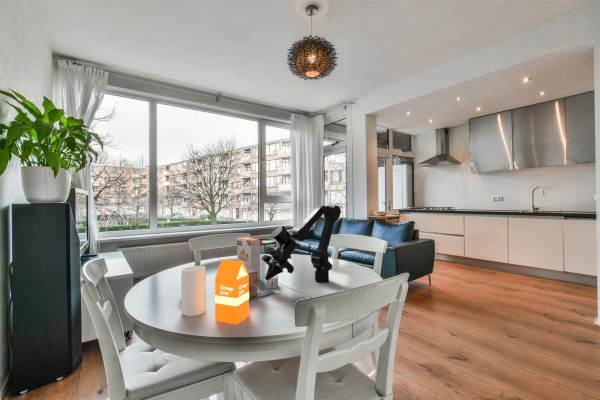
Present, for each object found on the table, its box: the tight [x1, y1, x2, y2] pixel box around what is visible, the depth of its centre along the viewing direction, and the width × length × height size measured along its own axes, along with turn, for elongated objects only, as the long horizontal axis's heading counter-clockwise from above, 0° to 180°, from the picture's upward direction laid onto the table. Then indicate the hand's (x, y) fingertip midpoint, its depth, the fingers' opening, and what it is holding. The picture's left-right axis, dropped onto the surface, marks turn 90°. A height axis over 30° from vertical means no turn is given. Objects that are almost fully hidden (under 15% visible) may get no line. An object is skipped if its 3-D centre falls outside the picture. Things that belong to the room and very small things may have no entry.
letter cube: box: [266, 275, 279, 289], centre depth 134 cm, size 4×5×4 cm
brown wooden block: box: [247, 270, 259, 297], centre depth 116 cm, size 12×3×10 cm, turn 128°
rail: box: [249, 289, 276, 301], centre depth 118 cm, size 22×4×2 cm, turn 128°
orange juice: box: [214, 259, 250, 325], centre depth 98 cm, size 8×9×20 cm
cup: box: [181, 265, 207, 317], centre depth 104 cm, size 8×8×16 cm
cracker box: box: [236, 236, 261, 280], centre depth 149 cm, size 14×6×21 cm, turn 42°
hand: (266, 279), depth 122 cm, fingers closed
